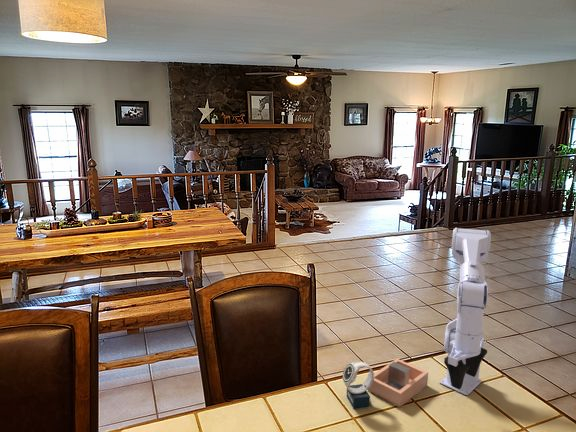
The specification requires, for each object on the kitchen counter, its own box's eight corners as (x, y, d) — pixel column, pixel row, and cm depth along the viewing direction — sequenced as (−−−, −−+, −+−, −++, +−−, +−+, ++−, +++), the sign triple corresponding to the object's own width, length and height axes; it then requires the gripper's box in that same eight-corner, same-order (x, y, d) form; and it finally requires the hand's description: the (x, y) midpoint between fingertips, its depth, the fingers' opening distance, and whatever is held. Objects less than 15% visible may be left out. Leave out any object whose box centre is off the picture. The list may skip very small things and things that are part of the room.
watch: (339, 397, 119) (340, 359, 117) (368, 393, 121) (369, 356, 119) (346, 410, 114) (347, 371, 112) (376, 406, 116) (377, 368, 113)
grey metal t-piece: (395, 379, 127) (396, 359, 125) (411, 386, 123) (412, 367, 122) (385, 386, 123) (386, 366, 122) (401, 394, 120) (402, 374, 118)
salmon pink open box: (396, 370, 132) (396, 358, 131) (427, 385, 125) (428, 372, 124) (367, 390, 122) (368, 377, 121) (399, 407, 115) (400, 393, 114)
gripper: (466, 315, 115) (462, 363, 118) (437, 334, 106) (433, 385, 109) (494, 325, 110) (488, 374, 113) (466, 345, 100) (461, 398, 103)
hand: (463, 380), depth 110 cm, fingers open, 7 cm apart
